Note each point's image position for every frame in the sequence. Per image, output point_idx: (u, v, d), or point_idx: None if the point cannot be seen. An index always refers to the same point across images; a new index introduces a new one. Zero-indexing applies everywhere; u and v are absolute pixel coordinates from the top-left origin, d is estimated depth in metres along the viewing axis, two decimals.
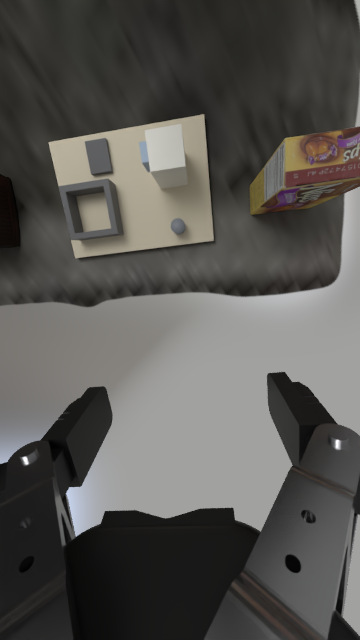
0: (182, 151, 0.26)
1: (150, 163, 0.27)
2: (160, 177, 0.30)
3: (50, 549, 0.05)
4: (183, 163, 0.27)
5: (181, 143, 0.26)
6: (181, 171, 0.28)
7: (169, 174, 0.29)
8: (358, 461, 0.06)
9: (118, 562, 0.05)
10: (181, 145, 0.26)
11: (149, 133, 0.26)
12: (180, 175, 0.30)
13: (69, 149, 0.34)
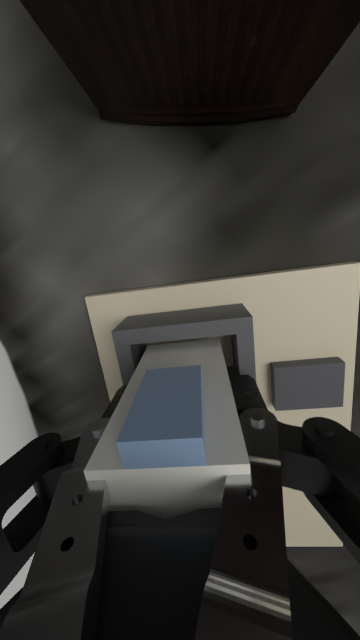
0: None
1: (116, 474, 0.06)
2: None
3: (88, 538, 0.05)
4: None
5: None
6: None
7: None
8: (267, 437, 0.07)
9: (118, 562, 0.05)
10: None
11: None
12: None
13: (335, 315, 0.14)
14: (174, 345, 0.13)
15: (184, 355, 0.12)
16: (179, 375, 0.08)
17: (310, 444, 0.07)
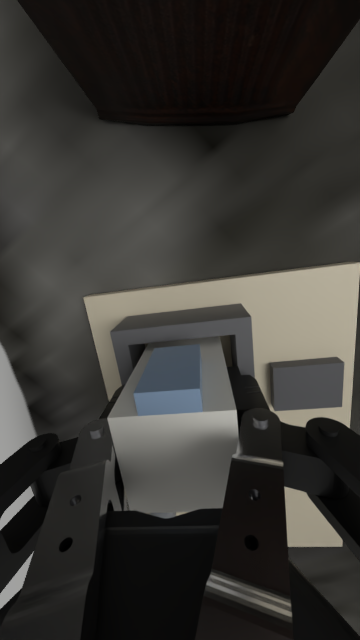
0: (170, 509, 0.08)
1: (132, 420, 0.08)
2: None
3: (87, 538, 0.05)
4: (137, 508, 0.09)
5: (191, 508, 0.08)
6: None
7: None
8: (269, 437, 0.07)
9: (118, 562, 0.05)
10: (185, 507, 0.08)
11: (225, 424, 0.07)
12: None
13: (334, 315, 0.14)
14: None
15: (186, 340, 0.13)
16: (181, 351, 0.10)
17: (313, 444, 0.07)
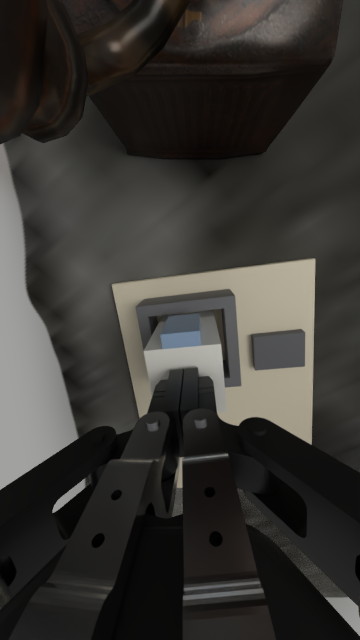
0: None
1: (159, 352, 0.13)
2: None
3: (117, 543, 0.05)
4: None
5: None
6: None
7: None
8: (203, 436, 0.08)
9: None
10: None
11: (214, 353, 0.12)
12: None
13: (298, 297, 0.19)
14: None
15: None
16: (187, 316, 0.15)
17: (247, 447, 0.07)
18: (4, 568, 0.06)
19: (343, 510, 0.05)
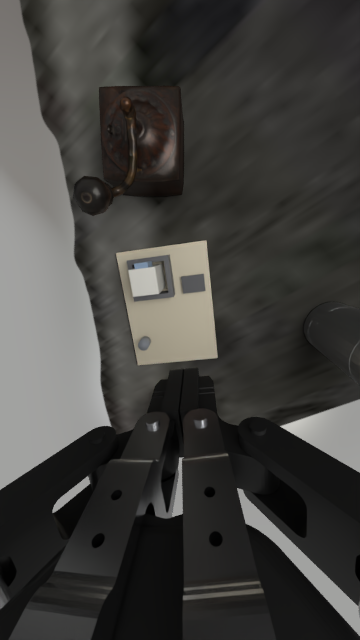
0: (142, 294, 0.36)
1: (133, 270, 0.35)
2: None
3: (117, 543, 0.05)
4: (134, 295, 0.36)
5: (147, 294, 0.36)
6: None
7: None
8: (203, 436, 0.08)
9: None
10: (145, 294, 0.36)
11: (152, 270, 0.35)
12: None
13: (200, 258, 0.42)
14: None
15: None
16: None
17: (247, 447, 0.07)
18: (4, 568, 0.06)
19: (343, 510, 0.05)
